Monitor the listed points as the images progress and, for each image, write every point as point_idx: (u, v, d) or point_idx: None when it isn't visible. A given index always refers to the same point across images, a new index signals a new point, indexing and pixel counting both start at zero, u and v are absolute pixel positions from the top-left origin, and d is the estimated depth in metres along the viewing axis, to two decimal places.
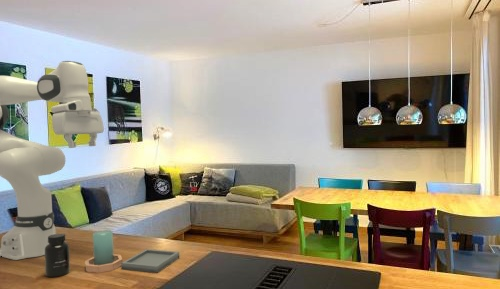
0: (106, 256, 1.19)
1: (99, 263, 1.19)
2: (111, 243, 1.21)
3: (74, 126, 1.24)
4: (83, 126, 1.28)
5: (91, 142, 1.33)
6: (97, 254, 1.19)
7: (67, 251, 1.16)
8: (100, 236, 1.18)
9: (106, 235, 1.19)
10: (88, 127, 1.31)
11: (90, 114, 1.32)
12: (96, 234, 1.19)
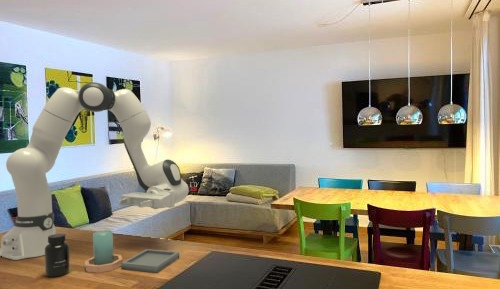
0: (106, 256, 1.19)
1: (99, 263, 1.19)
2: (111, 243, 1.21)
3: None
4: None
5: (124, 203, 1.35)
6: (97, 254, 1.19)
7: (67, 251, 1.16)
8: (100, 236, 1.18)
9: (106, 235, 1.19)
10: None
11: None
12: (96, 234, 1.19)
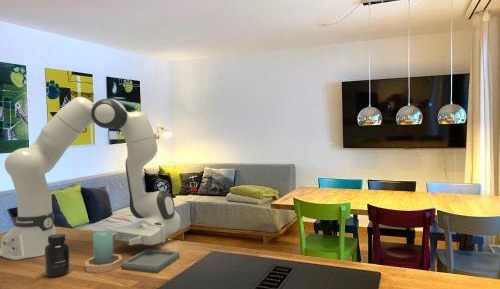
0: (106, 256, 1.19)
1: (99, 263, 1.19)
2: (111, 243, 1.21)
3: None
4: None
5: (113, 239, 1.30)
6: (97, 254, 1.19)
7: (67, 251, 1.16)
8: (100, 236, 1.18)
9: (106, 235, 1.19)
10: None
11: None
12: (96, 234, 1.19)
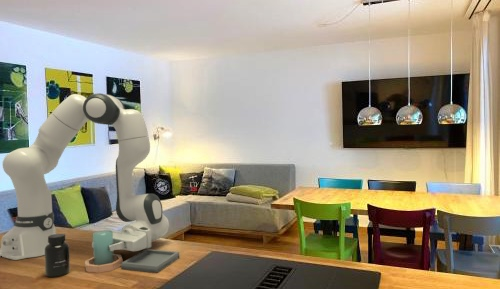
0: (106, 256, 1.19)
1: (99, 263, 1.19)
2: (111, 243, 1.21)
3: None
4: None
5: None
6: (97, 254, 1.19)
7: (67, 251, 1.16)
8: (100, 236, 1.18)
9: (106, 235, 1.19)
10: None
11: None
12: (96, 234, 1.19)
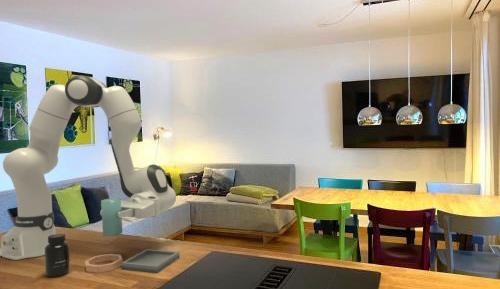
0: (115, 223, 1.19)
1: (108, 230, 1.18)
2: (119, 210, 1.21)
3: None
4: None
5: None
6: (106, 221, 1.18)
7: (67, 251, 1.16)
8: (109, 202, 1.18)
9: (115, 202, 1.19)
10: None
11: None
12: (104, 201, 1.19)
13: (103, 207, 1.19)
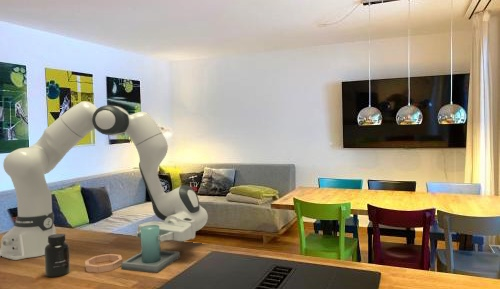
0: (154, 250, 1.21)
1: (147, 257, 1.20)
2: None
3: None
4: None
5: None
6: (146, 249, 1.20)
7: (67, 251, 1.16)
8: (148, 230, 1.20)
9: (154, 229, 1.20)
10: None
11: None
12: (144, 228, 1.21)
13: (143, 235, 1.20)
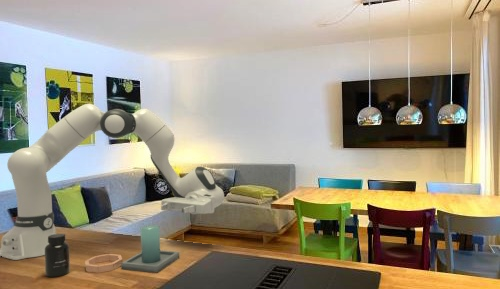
0: (154, 250, 1.21)
1: (147, 257, 1.20)
2: (158, 237, 1.22)
3: None
4: None
5: (166, 208, 1.36)
6: (146, 249, 1.20)
7: (67, 251, 1.16)
8: (148, 230, 1.20)
9: (154, 229, 1.20)
10: None
11: None
12: (144, 228, 1.21)
13: (143, 235, 1.20)
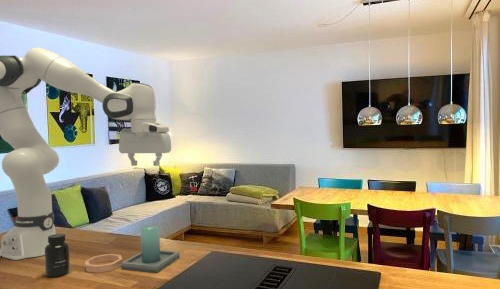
0: (154, 250, 1.21)
1: (147, 257, 1.20)
2: (158, 237, 1.22)
3: None
4: None
5: (136, 161, 1.37)
6: (146, 249, 1.20)
7: (67, 251, 1.16)
8: (148, 230, 1.20)
9: (154, 229, 1.20)
10: None
11: None
12: (144, 228, 1.21)
13: (143, 235, 1.20)
